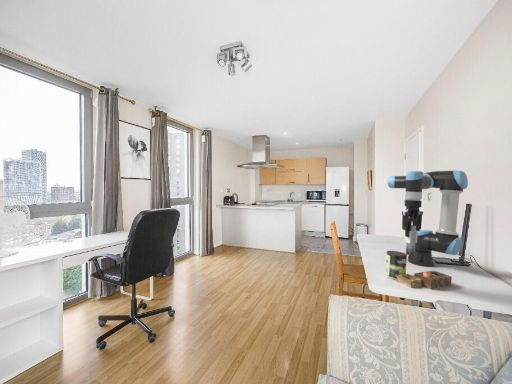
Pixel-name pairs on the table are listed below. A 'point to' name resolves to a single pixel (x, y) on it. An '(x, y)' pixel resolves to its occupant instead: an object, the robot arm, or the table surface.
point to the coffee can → (395, 264)
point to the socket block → (434, 279)
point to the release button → (426, 274)
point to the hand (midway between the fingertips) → (410, 242)
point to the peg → (411, 246)
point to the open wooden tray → (409, 280)
